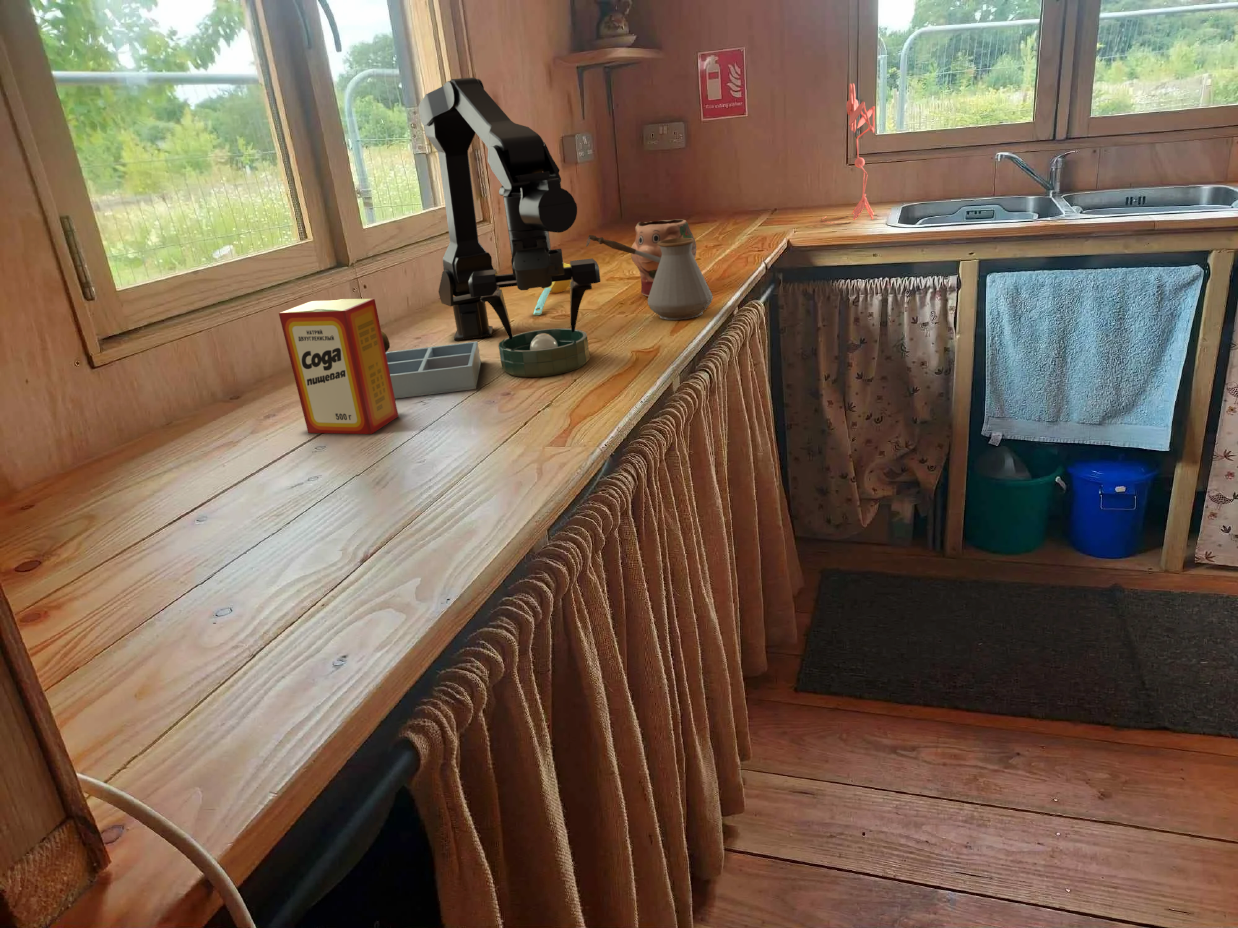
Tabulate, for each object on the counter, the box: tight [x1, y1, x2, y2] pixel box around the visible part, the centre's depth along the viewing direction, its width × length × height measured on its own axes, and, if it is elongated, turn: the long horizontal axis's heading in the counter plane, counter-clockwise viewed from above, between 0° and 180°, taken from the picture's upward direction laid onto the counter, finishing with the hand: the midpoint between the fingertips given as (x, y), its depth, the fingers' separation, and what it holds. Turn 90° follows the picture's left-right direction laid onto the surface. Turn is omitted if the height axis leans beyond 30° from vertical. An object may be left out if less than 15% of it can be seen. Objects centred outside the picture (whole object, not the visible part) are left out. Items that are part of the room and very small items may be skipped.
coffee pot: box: [585, 234, 714, 321], centre depth 152 cm, size 21×12×15 cm, turn 81°
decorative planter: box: [630, 218, 697, 297], centre depth 171 cm, size 20×12×14 cm, turn 162°
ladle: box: [532, 262, 571, 316], centre depth 177 cm, size 9×26×6 cm, turn 174°
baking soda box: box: [278, 298, 399, 435], centre depth 111 cm, size 10×6×16 cm
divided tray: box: [386, 341, 482, 400], centre depth 129 cm, size 15×15×3 cm
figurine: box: [821, 82, 876, 224], centre depth 238 cm, size 15×26×35 cm, turn 165°
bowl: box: [498, 327, 590, 378], centre depth 131 cm, size 13×13×4 cm
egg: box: [530, 333, 558, 350], centre depth 131 cm, size 5×4×4 cm
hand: (542, 335), depth 130 cm, fingers open, 9 cm apart
